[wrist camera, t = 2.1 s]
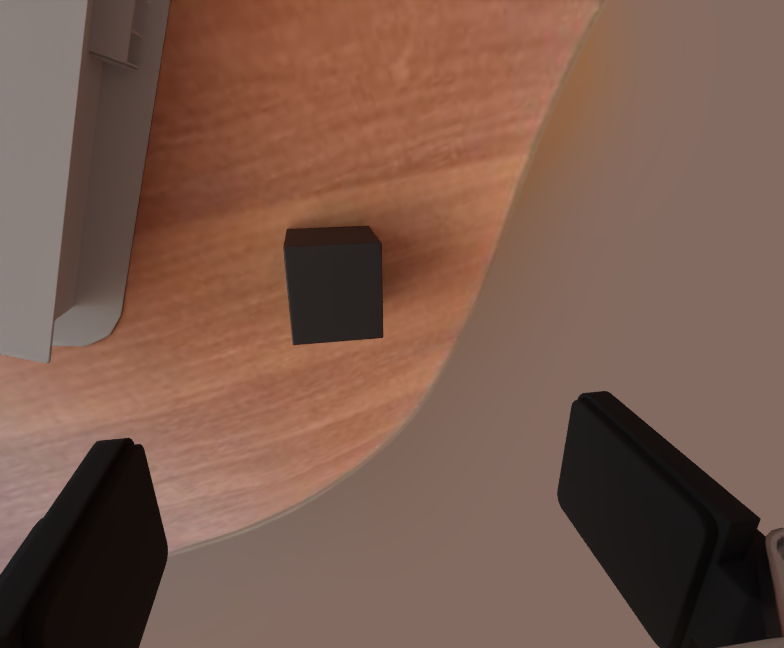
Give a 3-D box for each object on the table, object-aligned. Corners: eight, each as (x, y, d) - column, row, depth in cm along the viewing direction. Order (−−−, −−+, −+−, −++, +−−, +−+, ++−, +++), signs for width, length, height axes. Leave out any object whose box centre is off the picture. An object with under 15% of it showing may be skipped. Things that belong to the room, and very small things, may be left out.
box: (369, 225, 26) (381, 242, 22) (371, 308, 28) (383, 338, 24) (286, 229, 26) (283, 246, 21) (294, 313, 27) (292, 345, 23)
